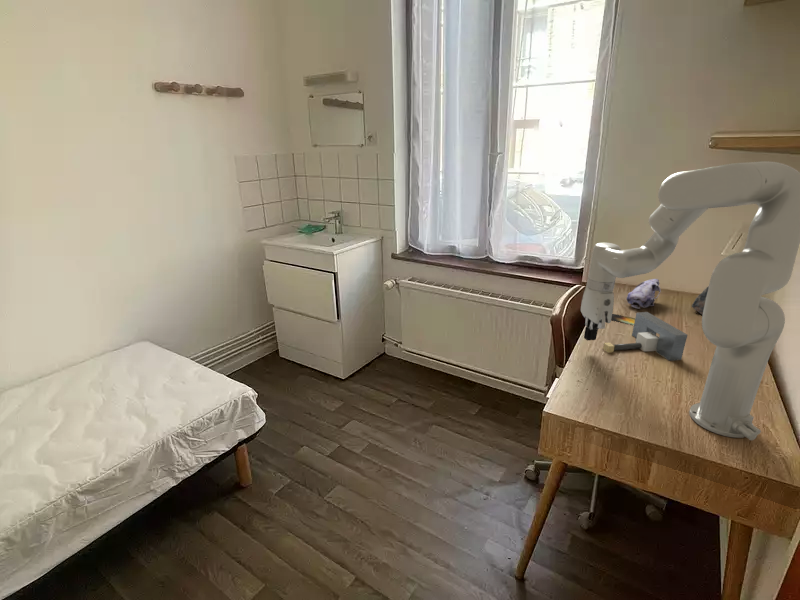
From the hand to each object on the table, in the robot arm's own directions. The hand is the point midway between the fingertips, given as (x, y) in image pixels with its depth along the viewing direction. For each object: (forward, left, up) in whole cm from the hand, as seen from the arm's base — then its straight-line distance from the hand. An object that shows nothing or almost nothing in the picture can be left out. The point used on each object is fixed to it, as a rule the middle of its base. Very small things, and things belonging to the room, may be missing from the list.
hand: (589, 338), depth 138 cm
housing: (-1, -23, -4) cm, 24 cm away
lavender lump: (+33, -44, -5) cm, 55 cm away
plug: (-1, -14, -4) cm, 15 cm away
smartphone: (+19, -29, -5) cm, 35 cm away
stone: (+23, -64, -5) cm, 68 cm away
